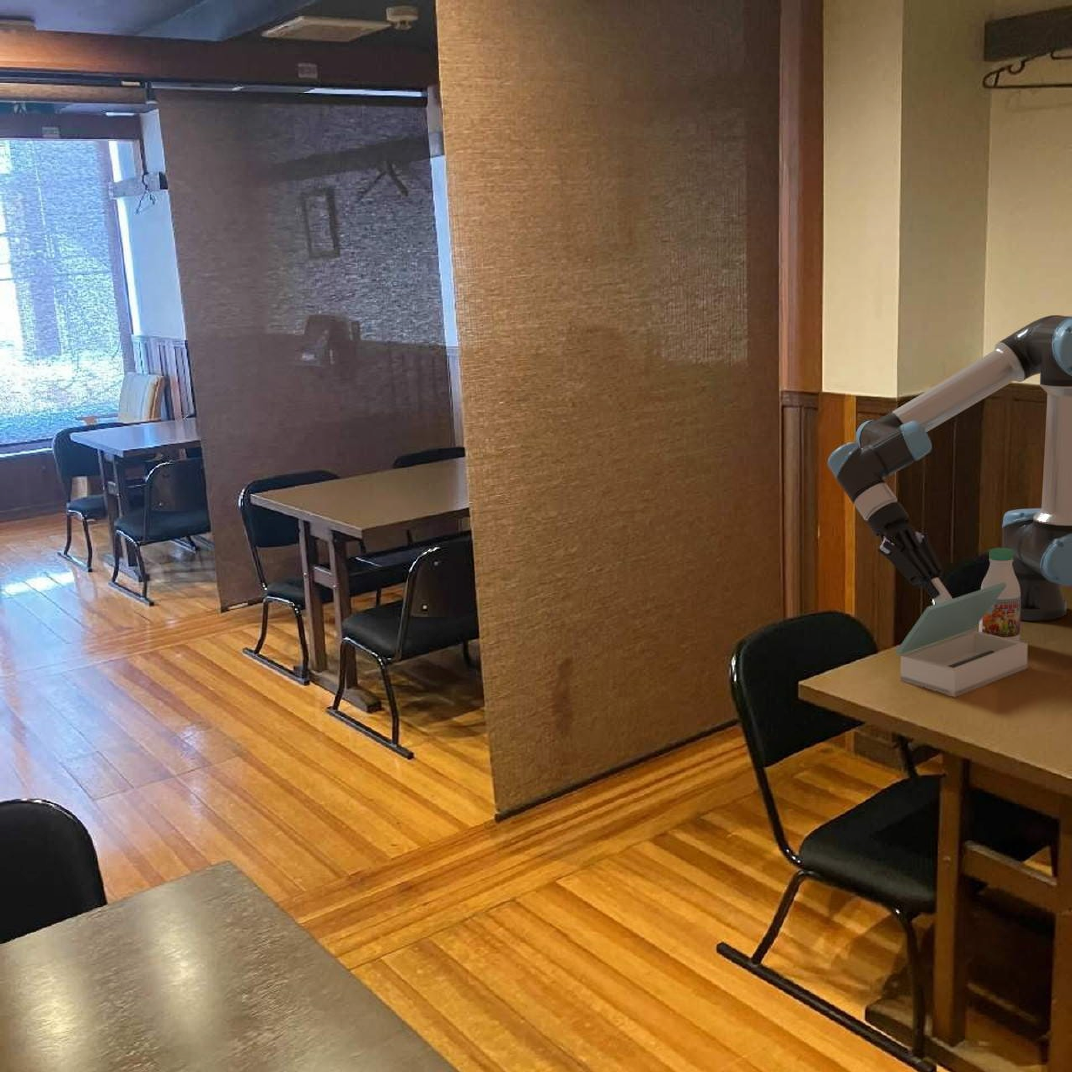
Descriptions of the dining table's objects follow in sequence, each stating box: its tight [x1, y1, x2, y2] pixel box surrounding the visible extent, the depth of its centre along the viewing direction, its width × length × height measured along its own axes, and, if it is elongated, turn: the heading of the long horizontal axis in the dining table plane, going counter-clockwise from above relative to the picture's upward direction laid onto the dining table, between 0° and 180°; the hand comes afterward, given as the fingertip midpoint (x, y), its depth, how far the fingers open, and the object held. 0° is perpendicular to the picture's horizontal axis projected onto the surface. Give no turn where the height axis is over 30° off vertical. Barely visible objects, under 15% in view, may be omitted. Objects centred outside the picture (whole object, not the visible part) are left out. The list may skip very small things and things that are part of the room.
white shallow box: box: [900, 629, 1028, 698], centre depth 219 cm, size 22×12×5 cm, turn 124°
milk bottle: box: [978, 547, 1021, 642], centre depth 232 cm, size 8×8×20 cm
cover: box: [895, 582, 1007, 656], centre depth 220 cm, size 23×13×1 cm
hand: (950, 609), depth 219 cm, fingers closed
